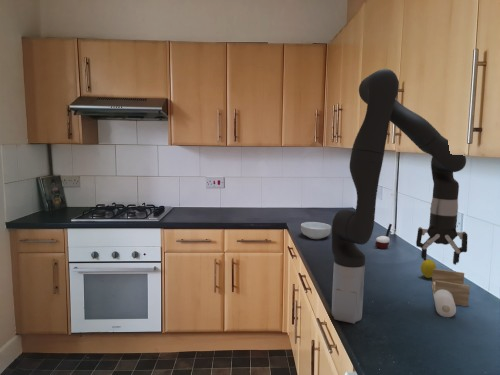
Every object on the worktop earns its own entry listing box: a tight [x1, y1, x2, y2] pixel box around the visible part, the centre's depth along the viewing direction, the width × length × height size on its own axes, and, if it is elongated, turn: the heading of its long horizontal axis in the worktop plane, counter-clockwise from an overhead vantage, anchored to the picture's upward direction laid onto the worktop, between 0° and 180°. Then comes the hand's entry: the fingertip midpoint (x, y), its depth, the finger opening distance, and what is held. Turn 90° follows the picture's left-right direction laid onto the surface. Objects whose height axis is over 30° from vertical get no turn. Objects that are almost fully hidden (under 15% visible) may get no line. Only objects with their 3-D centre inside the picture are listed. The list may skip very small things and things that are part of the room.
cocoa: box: [374, 223, 393, 250], centre depth 182 cm, size 10×6×12 cm, turn 91°
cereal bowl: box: [300, 221, 332, 240], centre depth 200 cm, size 17×17×7 cm
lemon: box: [420, 258, 437, 279], centre depth 143 cm, size 6×6×8 cm
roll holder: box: [431, 268, 471, 307], centre depth 127 cm, size 13×10×7 cm
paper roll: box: [433, 290, 457, 318], centre depth 116 cm, size 9×6×6 cm
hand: (439, 261), depth 115 cm, fingers open, 8 cm apart
